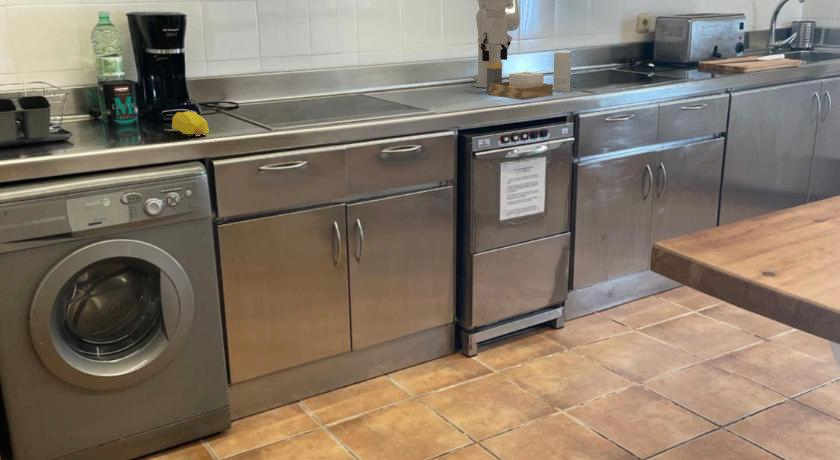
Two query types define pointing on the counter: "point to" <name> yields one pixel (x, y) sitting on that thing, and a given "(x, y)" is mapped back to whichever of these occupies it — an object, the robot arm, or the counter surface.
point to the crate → (520, 91)
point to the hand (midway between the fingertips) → (494, 60)
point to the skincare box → (562, 71)
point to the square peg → (494, 73)
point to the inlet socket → (526, 79)
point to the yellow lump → (189, 123)
